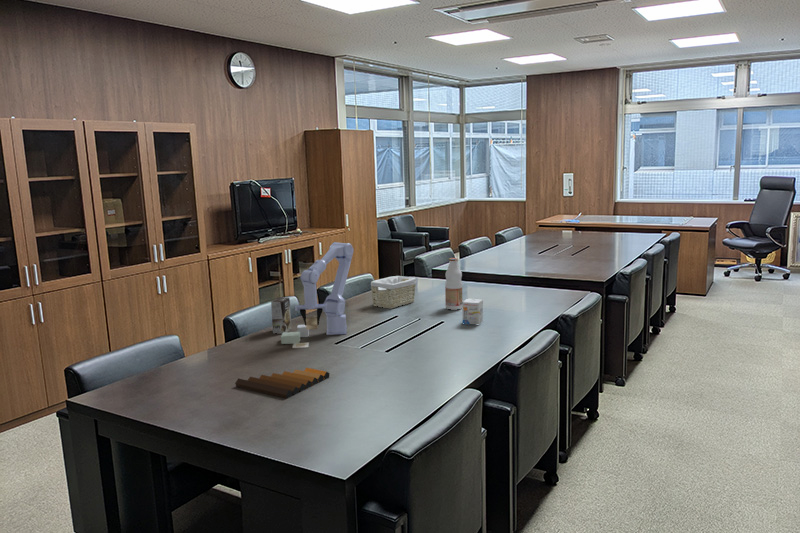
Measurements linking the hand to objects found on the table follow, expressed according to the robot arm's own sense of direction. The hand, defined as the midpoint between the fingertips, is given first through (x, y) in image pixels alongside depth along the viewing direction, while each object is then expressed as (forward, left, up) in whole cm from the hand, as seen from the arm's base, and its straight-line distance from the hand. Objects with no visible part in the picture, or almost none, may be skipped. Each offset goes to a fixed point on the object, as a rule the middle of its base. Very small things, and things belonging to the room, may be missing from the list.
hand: (312, 324), depth 287 cm
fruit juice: (-75, -50, -8) cm, 90 cm away
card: (+5, +7, -8) cm, 12 cm away
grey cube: (+5, -9, -8) cm, 13 cm away
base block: (+10, 0, -8) cm, 13 cm away
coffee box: (+16, -19, -8) cm, 26 cm away
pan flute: (+8, +54, -8) cm, 55 cm away
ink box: (-79, -18, -8) cm, 81 cm away
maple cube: (0, 0, -2) cm, 2 cm away
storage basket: (-43, -66, -8) cm, 79 cm away
